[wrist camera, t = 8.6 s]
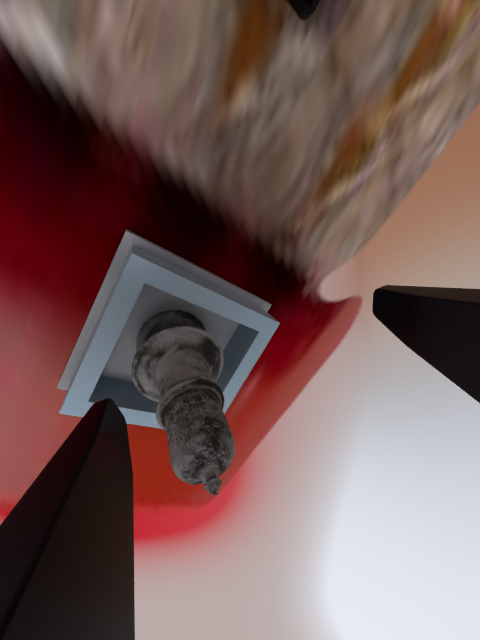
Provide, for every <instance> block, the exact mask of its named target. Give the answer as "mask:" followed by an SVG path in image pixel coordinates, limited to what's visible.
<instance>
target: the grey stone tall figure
mask: <svg viewBox="0 0 480 640" xmlns="http://www.w3.org/2000/svg"><path fill="white" fill-rule="evenodd" d="M136 349H137V352H136V354H135V356H134V359H133V362H132V379H133V382H134V384H135V387H136V388H137V389H138V390H139V392H140V393H141V394H142V395H144V396H145V397H147V398H148V399H150V400H152V401H155V402H158V406H157V408H156V419H157V422H158V424H159V426H160V427H161V428H162V429H163V430H164V431H166V433H167V440H168V447H169V454H170V461H171V465H172V468H173V471H174V473H175V475H176V476H177V477H178V478H179V479H181V480H182V481H184V482H186V483H188V484H204V483H205V485H204V489H205V490H206V491H209V493H211V494H213V495H215V496H216V495H217V493H218V490H219V488H220V487H219V486H220V485H221V483H222V482H221V479H220V478H218V477H219V476H220V475H221V474H222V473H224V472H225V471H226V470H227V468H228V467H229V466H230V464H231V462H232V460H233V457H234V454H235V449H236V448H235V442H234V436H233V434H232V432H231V429H230V427H229V425H228V422H227V420H226V417H225V415H224V413H223V407H224V401H225V400H224V394H223V392H222V390H221V388H220V387H219V386H218V385H217V384H215V382H216V381H217V380H218V378H219V376H220V374H221V371H222V369H223V362H224V358H223V352H222V349H221V347H220V345H219V343H218V341H217V340H216V339H215V338H214V337H213V336H212V335H211V334H210V333H208V332H206V329H205V327H204V325H203V323H202V322H201V321H200V320H199V319H198V318H197V317H196V316H194V315H192V314H191V313H189V312H185V311H181V310H168V311H164V312H160V313H158V314H156V315H154V316H152V317H151V318H150V319H148V320H147V321H146V322H145V323H144V324H143V326H142V327H141V329H140V330H139V332H138V335H137V339H136Z"/></svg>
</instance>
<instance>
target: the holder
mask: <svg viewBox="0 0 480 640" xmlns="http://www.w3.org/2000/svg"><path fill="white" fill-rule="evenodd" d="M270 307H271V304H270V303H268V302H267V301H265V300H263V299H262V298H260V297H258V296H256V295H254V294H252V293H250V292H248V291H246V290H244V289H242V288H240V287H238V286H236V285H234V284H232V283H230V282H228V281H226V280H225V279H223V278H221V277H219V276H217V275H215V274H213V273H211V272H209V271H207V270H205V269H203V268H201V267H199V266H197V265H195V264H193V263H191V262H190V261H188V260H186V259H184V258H182V257H180V256H178V255H176V254H174V253H172V252H170V251H168V250H166V249H164V248H162V247H160V246H158V245H156V244H155V243H153V242H151V241H149V240H147V239H145V238H143V237H141V236H139V235H137V234H135V233H133V232H131V231H129V230H127V229H126V231H125V233H124V236H123V238H122V240H121V242H120V245H119V247H118V249H117V252H116V254H115V256H114V258H113V261H112V263H111V265H110V267H109V270H108V272H107V274H106V277H105V279H104V281H103V283H102V286H101V288H100V290H99V292H98V295H97V297H96V299H95V301H94V304H93V306H92V308H91V311H90V313H89V315H88V317H87V320H86V322H85V324H84V326H83V329H82V331H81V333H80V335H79V338H78V340H77V342H76V345H75V347H74V349H73V351H72V354H71V356H70V358H69V360H68V363H67V365H66V367H65V369H64V372H63V374H62V376H61V379H60V381H59V383H58V386H57V389H62V390H67V392H66V394H65V397H64V400H63V403H62V406H61V409H60V412H59V414H65V415H72V416H79V417H84V415H85V414H86V413H87V411H88V410H89V409H90V407H91V406H92V405H93V404H94V403H95V402H97V401H100V400H102V399H105V398H108V397H109V398H111V399H113V401H114V402H115V404H116V405H117V407H118V408H119V409H120V411H121V412H122V414H123V415H124V417H125V420H126V423H127V424H134V425H141V426H148V427H155V428H161V427H160V426H159V424H158V422H157V419H156V408H157V406H158V402H155V401H152V400H150V399H148V398H147V397H145V396H144V395H142V394H141V393H140V392H139V390H138V389H137V388H136V387H135V384H134V382H133V379H132V362H133V359H134V356H135V354H136V352H137V349H136V339H137V335H138V332H139V330H140V329H141V327H142V326H143V324H144V323H145V322H146V321H147V320H148V319H150V318H151V317H152V316H154V315H156V314H158V313H160V312H164V311H168V310H181V311H185V312H189V313H191V314H192V315H194V316H196V317H197V318H198V319H199V320H200V321H201V322H202V323H203V325H204V327H205V329H206V332H208V333H210V334H211V335H212V336H213V337H214V338H215V339H216V340H217V341H218V343H219V345H220V347H221V349H222V352H223V358H224V362H223V369H222V371H221V374H220V376H219V378H218V380H217V381H216V382H215V384H217V385H218V386H219V387H220V388H221V390H222V392H223V394H224V400H225V401H224V407H223V413H224V414H225V412H226V410H227V409H228V407H229V406H230V404H231V402H232V401H233V399H234V397H235V396H236V394H237V393H238V391H239V389H240V388H241V386H242V384H243V383H244V381H245V380H246V378H247V376H248V375H249V373H250V371H251V370H252V368H253V367H254V365H255V363H256V362H257V360H258V358H259V357H260V355H261V354H262V352H263V350H264V349H265V347H266V345H267V344H268V342H269V341H270V339H271V337H272V336H273V334H274V332H275V331H276V329H277V328H278V326H279V324H280V323H279V322H278V321H277V320H276V319H274V318H273V317H272V316H271V315H270V314H269V313H267V312H268V310H269V309H270ZM161 429H162V428H161Z"/></svg>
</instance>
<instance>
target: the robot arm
mask: <svg viewBox="0 0 480 640" xmlns="http://www.w3.org/2000/svg"><path fill="white" fill-rule="evenodd" d="M289 1H290V2H291V4H292V5H293V7H294V8H295V9H296V11H297V12H298V13H299V15H300V16H301V17H302V18H304V19H306V18H308V17H309V16H310V15H311V14H312V13H313V12H314V11H315V9H316V7H317V5H318V3H319V1H320V0H306V1H307V2H308V5H309V8H307V7H306V5H305V0H289ZM373 313H374V315H375V316H376V318H377V319H378V320H380V322H382V323H383V324H384V325H385V326H386V327H387V328H388V329H389V330H390V331H391V332H392V333H393V334H394V335H395V336H396V337H398V338H399V339H400V340H401V341H402V342H403V343H404V344H405V345H406V346H407V347H409V348H410V349H411V350H412V351H414V352H415V353H416V354H417V355H419V356H420V357H422V358H423V359H424V360H425V361H426V362H428V363H429V364H430V365H432V366H433V367H434V368H435V369H437V370H438V371H439V372H441V373H442V374H443V375H444V376H446V377H447V378H448V379H450V380H451V381H452V382H454V383H455V384H456V385H457V386H459V387H460V388H461V389H462V390H464V391H465V392H466V393H468V394H469V395H470V396H471V397H473V398H474V399H475V400H477V401H478V402H479V403H480V289H463V288H439V287H416V286H394V285H393V286H392V285H386V286H383V287H380V288H378V289H376V290H375V291H374V294H373ZM133 517H134V516H133V471H132V462H131V455H130V447H129V439H128V432H127V424H126V420H125V417H124V415H123V414H122V412H121V411H120V409H119V408H118V407H117V405H116V404H115V402H114V401H113V399H111V398H109V397H108V398H105V399H102V400H100V401H97V402H95V403H94V404H93V405H92V406H91V407H90V409H89V410H88V411H87V413H86V414H85V415H84V417H83V418H82V419H81V421H80V422H79V423H78V424H77V426H76V427H75V428H74V430H73V431H72V432H71V434H70V435H69V436H68V438H67V439H66V440H65V441H64V443H63V444H62V445H61V447H60V448H59V449H58V451H57V452H56V453H55V455H54V456H53V457H52V458H51V460H50V461H49V462H48V464H47V465H46V466H45V468H44V469H43V470H42V472H41V473H40V474H39V475H38V477H37V478H36V479H35V481H34V482H33V483H32V485H31V486H30V487H29V489H28V490H27V491H26V492H25V494H24V495H23V496H22V498H21V499H20V500H19V502H18V503H17V504H16V506H15V507H14V508H13V509H12V511H11V512H10V513H9V515H8V516H7V518H6V519H5V520H4V521H3V523H2V524H1V525H0V640H135V631H134V630H135V628H134V626H135V625H134V527H133V525H134V520H133V519H134V518H133Z"/></svg>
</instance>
